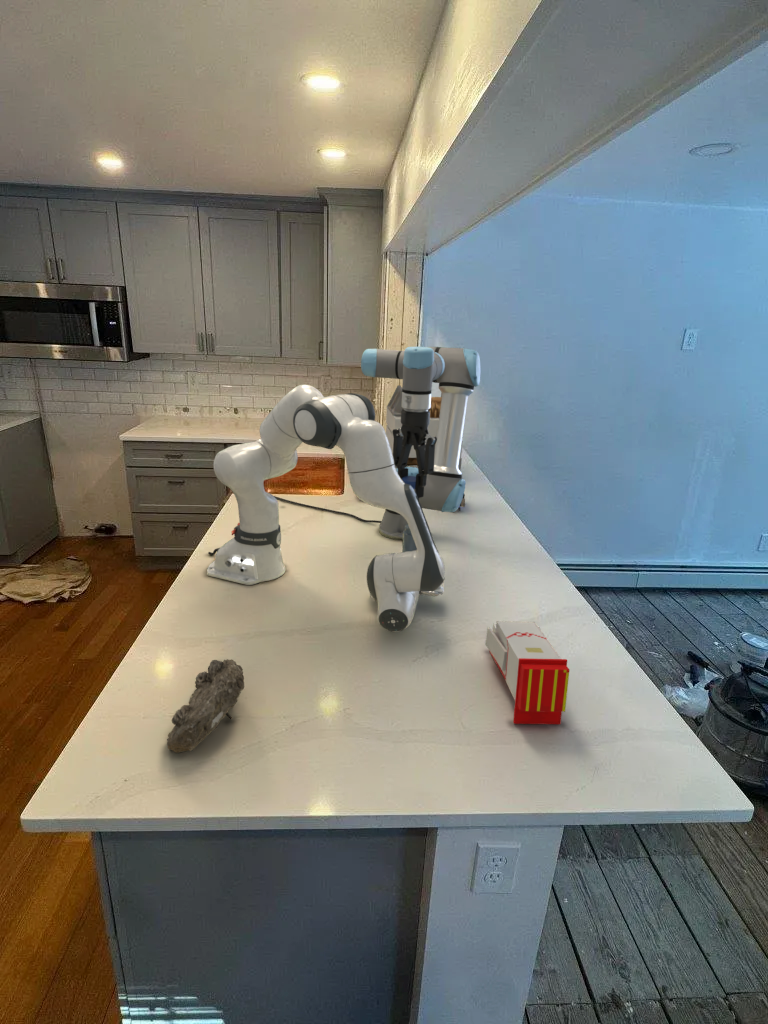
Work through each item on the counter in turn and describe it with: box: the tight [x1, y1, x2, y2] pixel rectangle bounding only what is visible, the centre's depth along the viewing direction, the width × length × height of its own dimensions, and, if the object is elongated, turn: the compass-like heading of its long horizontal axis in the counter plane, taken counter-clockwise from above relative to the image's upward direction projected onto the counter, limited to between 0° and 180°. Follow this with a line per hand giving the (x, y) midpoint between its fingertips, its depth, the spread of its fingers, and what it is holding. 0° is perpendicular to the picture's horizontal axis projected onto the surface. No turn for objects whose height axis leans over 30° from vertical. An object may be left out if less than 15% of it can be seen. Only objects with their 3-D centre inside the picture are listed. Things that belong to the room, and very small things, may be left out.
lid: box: [402, 476, 416, 489], centre depth 153 cm, size 5×5×2 cm
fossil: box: [166, 658, 245, 754], centre depth 106 cm, size 22×10×15 cm
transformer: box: [385, 384, 465, 473], centre depth 268 cm, size 34×33×41 cm
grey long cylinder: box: [401, 524, 417, 552], centre depth 158 cm, size 5×5×19 cm
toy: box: [485, 620, 570, 725], centre depth 121 cm, size 12×13×30 cm
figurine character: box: [457, 493, 466, 511], centre depth 229 cm, size 7×8×15 cm
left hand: (409, 568), depth 160 cm, fingers closed on grey long cylinder, 5 cm apart
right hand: (410, 494), depth 154 cm, fingers closed on lid, 5 cm apart
